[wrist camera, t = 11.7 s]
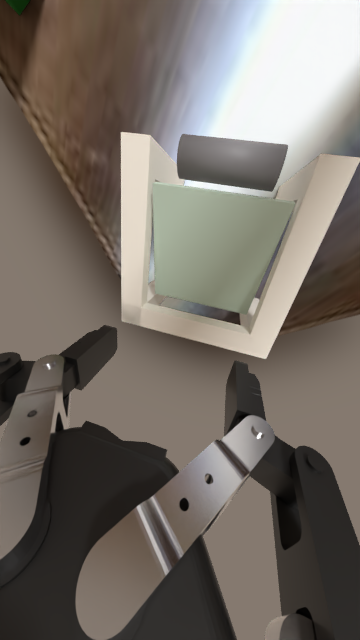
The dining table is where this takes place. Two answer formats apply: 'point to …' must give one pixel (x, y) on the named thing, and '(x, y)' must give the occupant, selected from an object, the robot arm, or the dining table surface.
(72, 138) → the dining table surface
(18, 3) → the milk carton
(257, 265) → the trapdoor
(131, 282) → the trapdoor stand
